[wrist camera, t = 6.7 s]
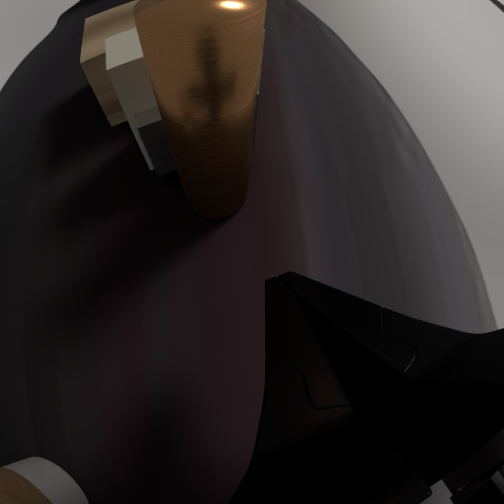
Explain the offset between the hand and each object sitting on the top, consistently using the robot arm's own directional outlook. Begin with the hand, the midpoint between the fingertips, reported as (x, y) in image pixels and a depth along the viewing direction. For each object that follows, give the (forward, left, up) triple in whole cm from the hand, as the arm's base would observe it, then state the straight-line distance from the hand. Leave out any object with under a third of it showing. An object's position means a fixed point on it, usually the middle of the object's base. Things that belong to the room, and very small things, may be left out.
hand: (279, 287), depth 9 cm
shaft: (+17, 0, -6) cm, 18 cm away
